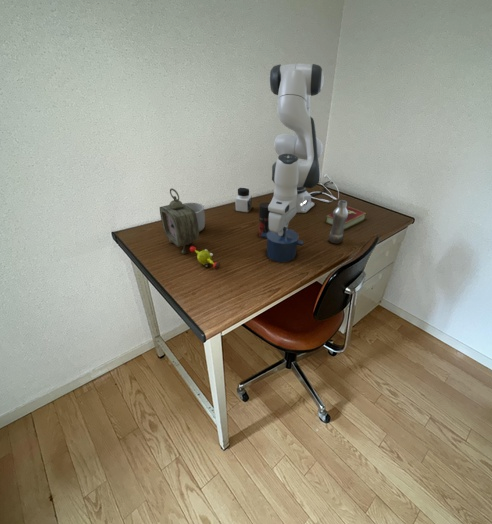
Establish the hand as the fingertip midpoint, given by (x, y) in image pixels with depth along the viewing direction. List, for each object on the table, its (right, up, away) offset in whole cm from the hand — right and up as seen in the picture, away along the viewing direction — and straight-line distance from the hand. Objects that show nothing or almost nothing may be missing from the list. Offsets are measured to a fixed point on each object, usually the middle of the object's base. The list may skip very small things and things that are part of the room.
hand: (282, 233), depth 109 cm
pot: (-1, -8, +6) cm, 10 cm away
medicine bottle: (-22, +18, +41) cm, 50 cm away
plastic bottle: (+24, -2, +18) cm, 30 cm away
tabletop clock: (-42, -5, +5) cm, 43 cm away
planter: (-43, +4, +18) cm, 47 cm away
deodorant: (-9, +1, +19) cm, 21 cm away
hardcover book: (+34, +11, +38) cm, 52 cm away
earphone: (+25, +30, +65) cm, 76 cm away
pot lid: (0, -1, +1) cm, 2 cm away
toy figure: (-30, -13, -5) cm, 33 cm away
